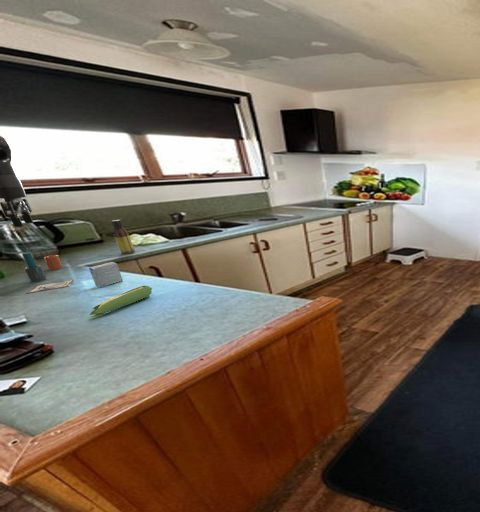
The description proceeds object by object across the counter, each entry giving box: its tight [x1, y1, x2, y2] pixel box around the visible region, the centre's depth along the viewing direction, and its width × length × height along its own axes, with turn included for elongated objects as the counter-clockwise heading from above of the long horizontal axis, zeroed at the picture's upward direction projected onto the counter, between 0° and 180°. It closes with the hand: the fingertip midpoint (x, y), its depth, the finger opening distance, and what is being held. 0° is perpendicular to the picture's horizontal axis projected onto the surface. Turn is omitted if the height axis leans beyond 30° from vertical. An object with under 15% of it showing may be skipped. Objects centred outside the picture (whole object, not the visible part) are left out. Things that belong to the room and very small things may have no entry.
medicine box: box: [88, 261, 124, 288], centre depth 118 cm, size 8×4×9 cm, turn 154°
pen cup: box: [43, 254, 64, 271], centre depth 136 cm, size 5×5×7 cm
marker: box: [21, 251, 38, 268], centre depth 120 cm, size 2×2×13 cm
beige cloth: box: [25, 279, 76, 295], centre depth 116 cm, size 12×9×1 cm
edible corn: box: [88, 285, 153, 320], centre depth 99 cm, size 5×20×5 cm, turn 162°
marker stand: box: [23, 264, 47, 284], centre depth 122 cm, size 5×5×7 cm
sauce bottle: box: [111, 219, 136, 255], centre depth 158 cm, size 7×6×20 cm
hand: (24, 224), depth 116 cm, fingers open, 8 cm apart
